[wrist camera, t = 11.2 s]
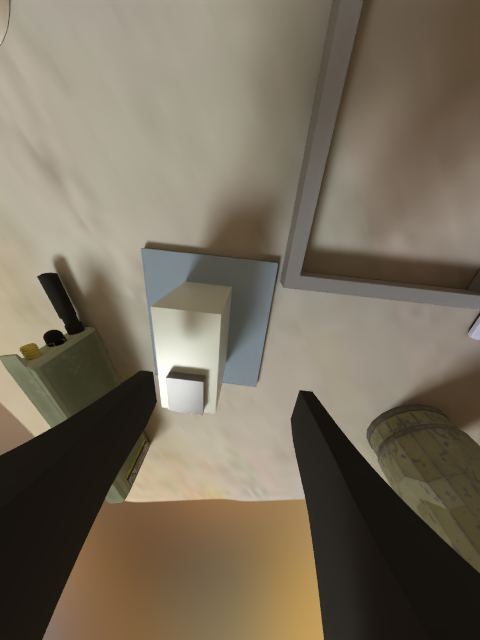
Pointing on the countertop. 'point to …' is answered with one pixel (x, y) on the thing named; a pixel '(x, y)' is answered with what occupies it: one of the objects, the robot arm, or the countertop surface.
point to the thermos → (433, 472)
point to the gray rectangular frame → (312, 171)
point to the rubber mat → (246, 300)
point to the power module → (192, 345)
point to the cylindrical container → (3, 18)
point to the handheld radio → (71, 377)
